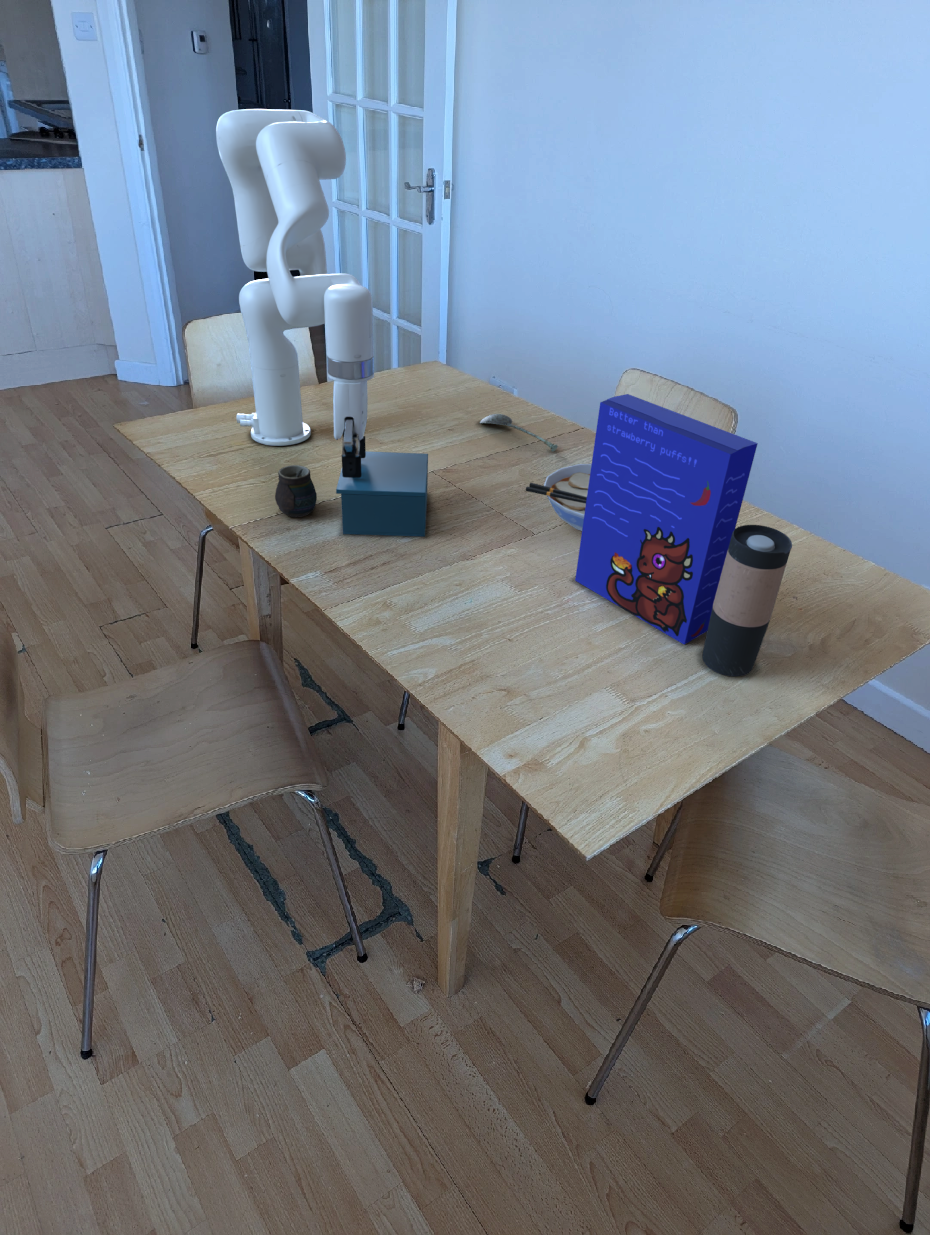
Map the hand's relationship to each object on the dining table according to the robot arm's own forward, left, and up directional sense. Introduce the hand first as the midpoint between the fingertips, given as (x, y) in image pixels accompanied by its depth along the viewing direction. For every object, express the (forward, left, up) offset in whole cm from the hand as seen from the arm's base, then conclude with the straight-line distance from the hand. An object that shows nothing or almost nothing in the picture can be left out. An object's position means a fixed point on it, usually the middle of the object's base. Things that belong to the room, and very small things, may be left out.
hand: (354, 466), depth 144 cm
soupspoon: (+32, +39, -9) cm, 51 cm away
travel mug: (+57, -42, -9) cm, 71 cm away
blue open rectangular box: (+6, 0, -9) cm, 11 cm away
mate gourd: (-10, -1, -9) cm, 14 cm away
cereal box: (+47, -28, -9) cm, 55 cm away
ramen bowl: (+45, -3, -9) cm, 46 cm away
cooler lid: (+5, 0, -1) cm, 5 cm away
